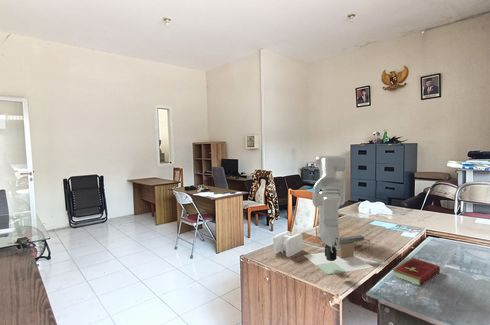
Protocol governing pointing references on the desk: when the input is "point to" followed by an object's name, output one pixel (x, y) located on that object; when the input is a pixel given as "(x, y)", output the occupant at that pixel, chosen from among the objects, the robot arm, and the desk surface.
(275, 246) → the cable organizer
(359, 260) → the cable panel
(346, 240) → the bar
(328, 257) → the cable plug
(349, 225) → the desk surface
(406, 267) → the hardcover book
